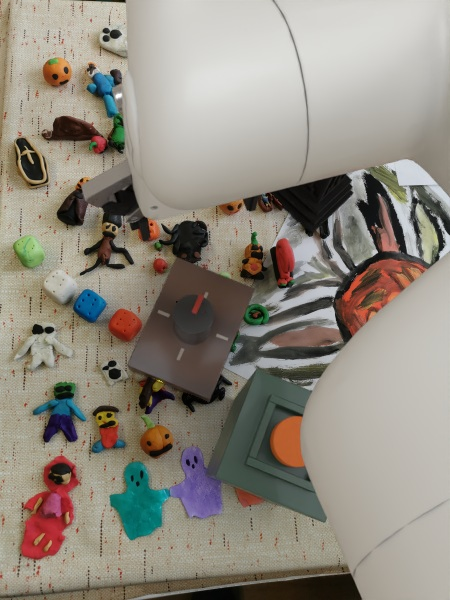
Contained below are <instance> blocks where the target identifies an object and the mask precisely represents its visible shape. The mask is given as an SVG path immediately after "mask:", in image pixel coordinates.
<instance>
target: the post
mask: <svg viewBox="0 0 450 600" xmlns="http://www.w3.org/2000/svg"><path fill="white" fill-rule="evenodd" d="M312 391H313V390H311V389H307V388H305V387H303V386H300V385H297V384H295V383H293V382H290V381H288V380H286V379H283V378H280V377H278V376H276V375H273V374H270V373H268V372H266V371H264V370H261V369H258V368H256V369H255V370H254V372H253V373H252V374H251V375H250V377H249V379H247V381H246V383H244V385H243V386H242V388H241V389H240V390H239V392H238V393H237V394H236V396H235V397H234V398H233V400H232V403H231V406H230V408H229V411H228V413H227V416H226V417H225V418H226V419H225V421H224V424H223V426H222V429H221V431H220V434H219V436H218V439H217V441H216V443H215V446H214V449H213V452H212V455H211V457H210V459H209V462H208V464H207V467H206V470H205V472H204V476H207V477H209V478H211V479H214V480H216V481H218V482H221V483H223V484H226V485H228V486H230V487H233V488H235V489H237V490H240V491H243V492H245V493H248V494H250V495H252V496H254V497H257V498H260V499H261V500H265V501H267V502H269V503H272V504H274V505H275V506H278V507H282V508H284V509H286V510H290V511H292V512H294V513H297V514H300V515H302V516H305V517H307V518H310V519H314V520H316V521H318V522H321V523H323V524H324V523H326V522H327V520H328V519H327V517H326V515H325V512H324V510H323V508H322V506H321V503H320V501H319V499H318V497H317V494H316V492H315V489H314V487H313V485H312V482H311V480H310V478H309V475H308V472H307V469H306V466H304V467H289V466H286V465H284V464H282V463H281V462H279V461H278V460H277V459H276V458H275V456H274V454H273V453H272V450H271V446H270V437H271V433H272V431H273V429H274V427H275V426H276V425H277V424H278V423H279V422H281V421H282V420H284V419H286V418H289V417H293V416H300V417H303V414H304V410H305V406H306V403H307V401H308V399H309V397H310V395H311V393H312Z"/></svg>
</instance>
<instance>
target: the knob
mask: <svg viewBox="0 0 450 600" xmlns="http://www.w3.org/2000/svg"><path fill="white" fill-rule="evenodd" d="M214 315H215V314H214V308H213V306H212V304H211V303H210V302H209V300H207V299H206V298H205V297H204V296H202V295H200V294H199V295H195V294H191V295H187V296H184V297H183V298H181V299H180V300H179V301H178V302H177V303H176V305H175V306H174V309H173V326H174V331H175V334H176V336H177V337H178V338H179V339H180V340H181V341H183V342H185V343H187V344H199V343H201V342H203V341H205V340H206V339H207V338H208V337H209V335H210V333H211V331H212V326H213V321H214Z"/></svg>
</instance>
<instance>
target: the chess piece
mask: <svg viewBox="0 0 450 600" xmlns="http://www.w3.org/2000/svg"><path fill="white" fill-rule="evenodd" d="M352 182H353V179H351V178H350V176H349V175H348V173H346V174H341V175H337V176H333V177H329V178H325V179H321V180H317V181H313V182H309V183H305V184H301V185H298V186H292V187H289V188H285V189H281V190H277V191H273V192H270V193H271V194H272V195H274V197H275V198H276V199H278V201H279V202H280V203H281V204H282V206H281V207H282V208H283V209H284V211H286V212H287V213H288V214H289V215H290V216H292V218H293V219H294V220H295V221H297V222H298V223H299V224H300V225H301V226H302V227H303V228H305V230H307V232H309V233H310V234H311V235H312V234H313V233H314V232H316V231H317V230H318V229H319V228H320V227H321V226H322V225H323V224H324V223H325V222H326V221H327V220H328V219H329V218H330V217H331V216H332V215H334V213H336V212H337V210H338V209H340V208H341V207H342V206H343V205H344V204H345V203H346V202H347V201H348V200H349V199H350V198H351V197H352V196H353V195H354V193H355V192H354V191H353V190H352V189H353V187H354V185H352V184H351V183H352Z"/></svg>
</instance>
